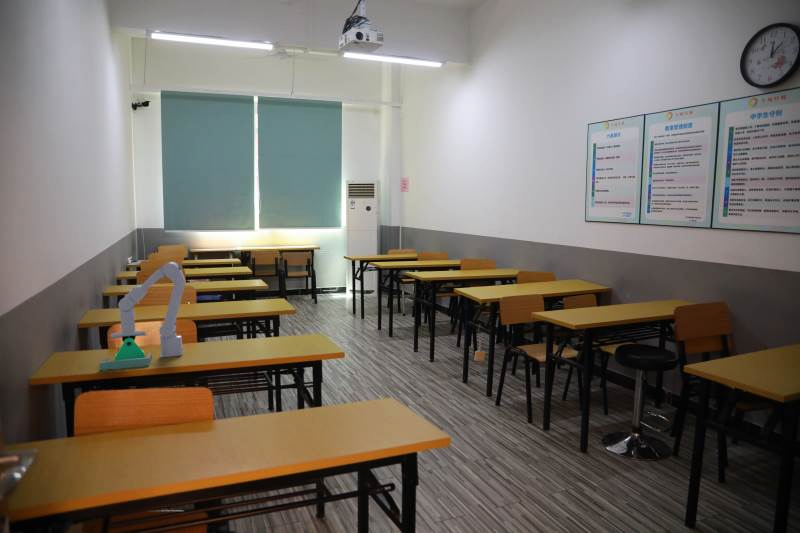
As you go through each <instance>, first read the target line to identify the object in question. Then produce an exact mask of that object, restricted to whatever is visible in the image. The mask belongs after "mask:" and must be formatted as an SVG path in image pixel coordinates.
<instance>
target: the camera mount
mask: <svg viewBox="0 0 800 533" xmlns="http://www.w3.org/2000/svg"><path fill="white" fill-rule="evenodd" d="M127 342H131V344H130V345H127V344H126V343H127ZM137 358H146V357H145V350H142V349H141V347H140V346H139V345H138V344H137V343H136V342H135V340H133V339H132V338H127V339H125V340H124V342H122V344H121V346H120V347H119V350H118V351H117V353H115V354H114V361H117V360H127V359H137Z"/></svg>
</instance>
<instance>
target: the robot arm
mask: <svg viewBox="0 0 800 533" xmlns="http://www.w3.org/2000/svg"><path fill="white" fill-rule="evenodd" d="M166 277H167V278H168V279H170V281H171V282H172V283H173V288H172V292H171V295H170V298H169V302H168V306H167V311H166V314H165V317H164V320H163V323H162V324H161V326H160V328H159V330H158V331H159V335H160V336H159V337H160V350H161V352H160V356H159V358H165V357H166V358H168V357H169V358H170V357H177V356H183V351H184V346H183V339H182V335H177V333H176V330H177V324H176V322H177V317H178V313H179V309H180V305H181V302H182V298H183V293H184V290H185V286H186V278H185V275H184V273H183V270H182V267H181V266H180V264H178V263H177V262H175V261H169V262H167V263H165V264H164V265H163V266H162V267H160V268H158V269H157V270H156V271H154V273H153V274H151V275H150V276H149V277H148V278H147V279H146V280H145V281H144V282H143V283H142V284H141V285H140V284H139V285H137V284H136V286H133V287H131V290H130V291H129V292H128V293H127V294H124V297H123V298H121V299H120V300H119V302H118V304H117V307H118V308H119V310H120V314H119V315H120V316H119V317H120V327H121V328H120V329H121V332H114V333H111V334H110V339H118V338H121V341H122V343H124V340H125V339H127V338H132V339H133V340H134V341H135V339H136V337H142V336H143V337H146V336H147V330H141V331H140V330H136V322H135V319H136V318H135V312H134V307H135V305H136V304H138V303H139V302H140V301H141V300H142V299H143V298H144V297H145V296H147V295H148V292H147V290H148V289H150V287H152V286H153V285H154V284H155V283H156V282H157V281H158V280H160V279H163V278H166ZM126 344H127V345H130V344H131V342H127V343H126Z"/></svg>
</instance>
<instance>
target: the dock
mask: <svg viewBox="0 0 800 533" xmlns="http://www.w3.org/2000/svg"><path fill="white" fill-rule="evenodd" d="M152 360H153V353H152V352H149V353H147V357H143V358H136V359H127V360H117V361H115V360H109V357H107V356H106V357H104V359H103V360H102V361H100V362H99V371H100V370H103V371H108V370H107V369H113V370H120V369H121V368H123V369H130V368H131V367H132V368H139V367H141V368H142V367H149V366H150V364H151V362H152ZM132 368H131V369H132ZM121 370H122V369H121Z"/></svg>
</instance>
